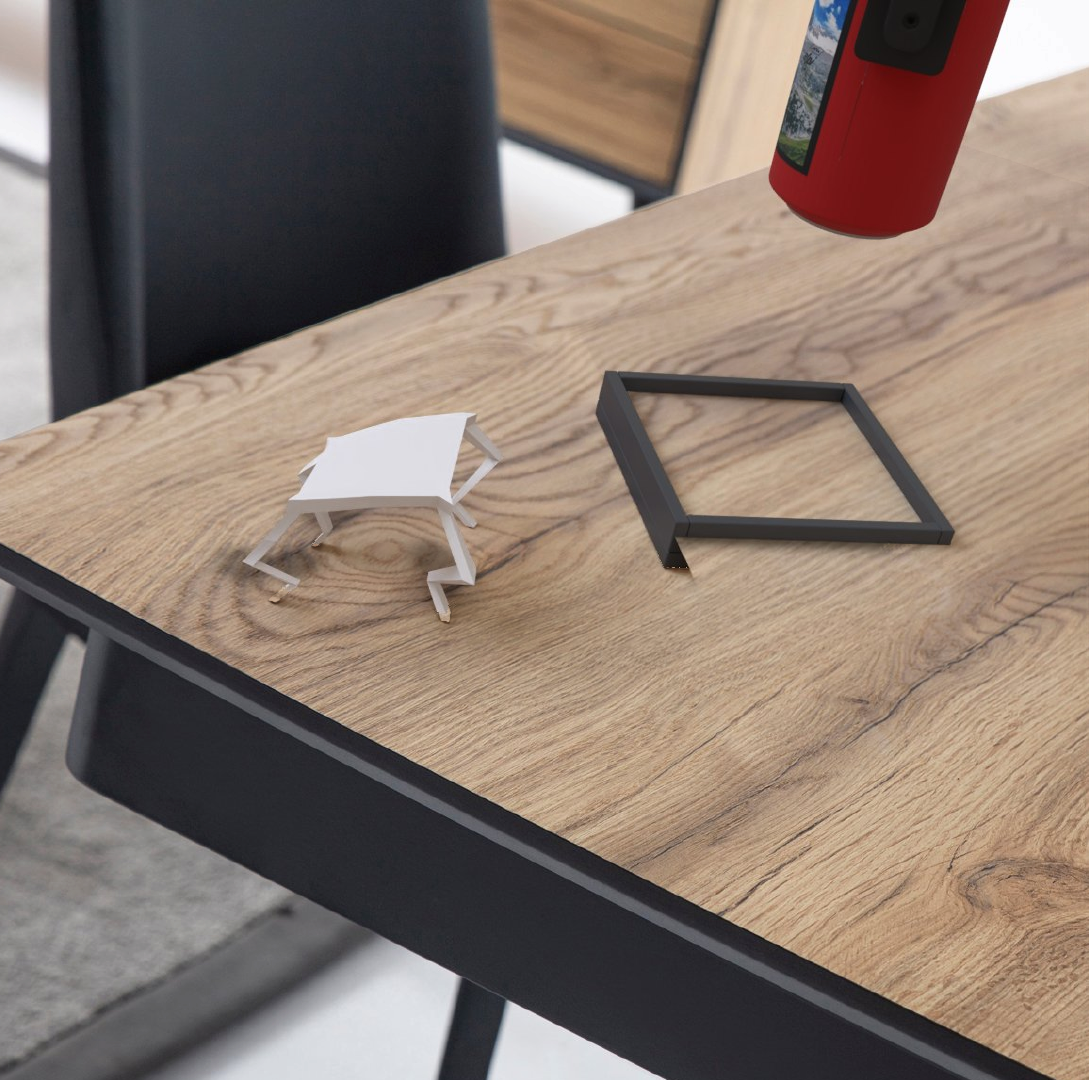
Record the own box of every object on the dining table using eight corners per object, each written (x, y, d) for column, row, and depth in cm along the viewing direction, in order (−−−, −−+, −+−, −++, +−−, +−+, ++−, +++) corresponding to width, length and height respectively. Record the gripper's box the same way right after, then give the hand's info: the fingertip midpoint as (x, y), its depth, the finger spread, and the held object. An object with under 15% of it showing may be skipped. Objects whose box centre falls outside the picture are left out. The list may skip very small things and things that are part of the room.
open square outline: (838, 425, 78) (852, 382, 77) (938, 576, 69) (956, 530, 67) (594, 413, 75) (604, 369, 74) (663, 568, 66) (676, 521, 65)
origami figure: (431, 680, 58) (452, 568, 55) (227, 598, 60) (236, 486, 57) (551, 526, 67) (573, 422, 64) (370, 460, 69) (384, 356, 66)
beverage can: (797, 164, 68) (885, -143, 61) (950, 217, 66) (1060, -96, 59) (735, 209, 64) (823, -120, 56) (898, 267, 61) (1011, -67, 54)
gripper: (1242, -531, 42) (1001, 134, 53) (1185, -528, 56) (1002, 2, 67) (956, -583, 43) (776, 81, 54) (968, -567, 57) (823, -39, 68)
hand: (902, 33), depth 61 cm, fingers closed on beverage can, 6 cm apart
